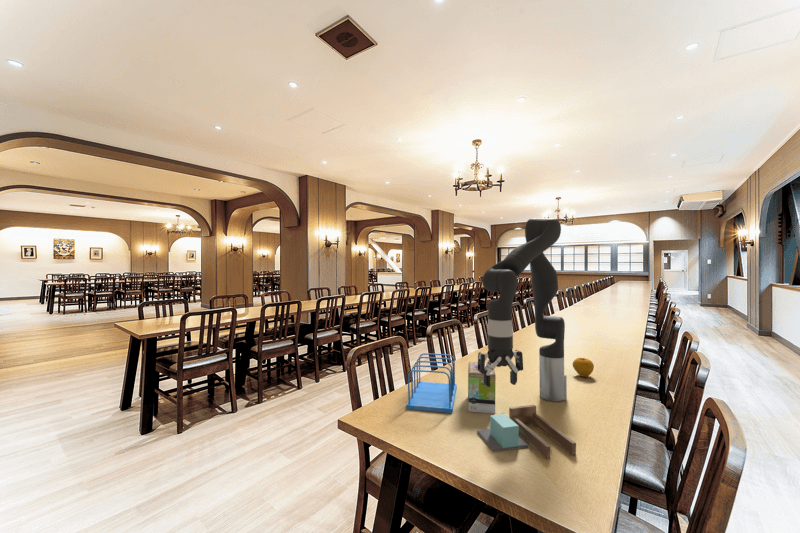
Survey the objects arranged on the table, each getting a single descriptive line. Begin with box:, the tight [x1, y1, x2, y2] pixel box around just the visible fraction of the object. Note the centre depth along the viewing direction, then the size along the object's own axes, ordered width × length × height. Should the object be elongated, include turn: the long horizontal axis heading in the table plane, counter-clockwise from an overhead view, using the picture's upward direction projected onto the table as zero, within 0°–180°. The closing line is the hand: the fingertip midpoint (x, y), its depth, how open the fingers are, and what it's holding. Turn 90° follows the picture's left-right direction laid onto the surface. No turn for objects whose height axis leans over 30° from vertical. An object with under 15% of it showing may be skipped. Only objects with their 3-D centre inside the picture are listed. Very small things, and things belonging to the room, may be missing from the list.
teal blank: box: [489, 413, 520, 448], centre depth 100 cm, size 5×8×6 cm, turn 12°
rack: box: [508, 404, 577, 460], centre depth 102 cm, size 9×20×6 cm, turn 11°
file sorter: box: [406, 352, 458, 414], centre depth 134 cm, size 25×17×15 cm
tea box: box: [467, 361, 497, 415], centre depth 127 cm, size 15×10×15 cm
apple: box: [572, 357, 595, 378], centre depth 158 cm, size 9×9×9 cm
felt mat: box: [477, 428, 528, 452], centre depth 101 cm, size 11×11×1 cm
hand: (500, 385), depth 102 cm, fingers open, 8 cm apart
